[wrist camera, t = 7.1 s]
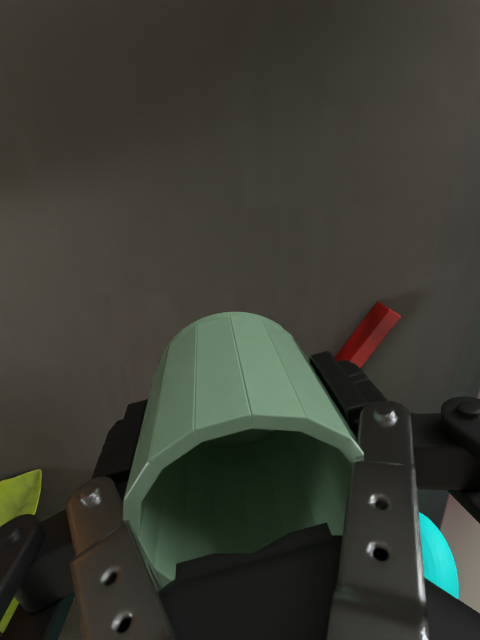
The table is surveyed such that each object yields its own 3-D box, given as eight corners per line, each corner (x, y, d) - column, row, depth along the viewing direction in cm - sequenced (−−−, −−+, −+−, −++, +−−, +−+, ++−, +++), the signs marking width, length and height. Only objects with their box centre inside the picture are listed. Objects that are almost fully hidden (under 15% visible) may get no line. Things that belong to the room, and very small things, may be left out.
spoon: (358, 288, 27) (370, 296, 25) (406, 319, 28) (420, 329, 27) (230, 462, 32) (232, 479, 30) (276, 481, 33) (281, 499, 31)
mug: (133, 335, 13) (77, 460, 7) (291, 292, 13) (366, 382, 7) (199, 500, 17) (198, 680, 11) (325, 465, 17) (396, 625, 11)
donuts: (368, 554, 38) (421, 671, 29) (287, 537, 36) (317, 659, 27) (416, 487, 36) (492, 593, 26) (331, 464, 33) (382, 572, 24)
